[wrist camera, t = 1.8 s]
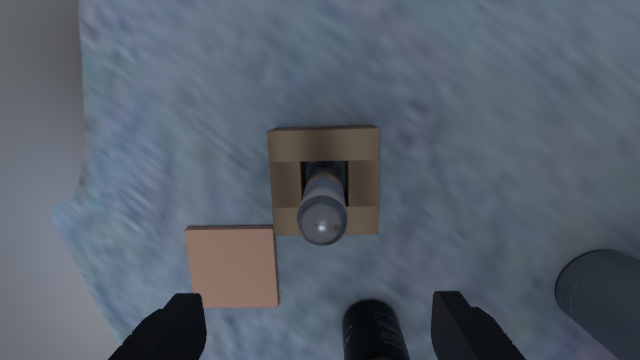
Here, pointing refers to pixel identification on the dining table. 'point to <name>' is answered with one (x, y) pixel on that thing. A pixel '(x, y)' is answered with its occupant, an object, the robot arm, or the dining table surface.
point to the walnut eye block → (325, 145)
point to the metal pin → (323, 205)
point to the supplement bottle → (373, 333)
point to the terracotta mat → (233, 266)
